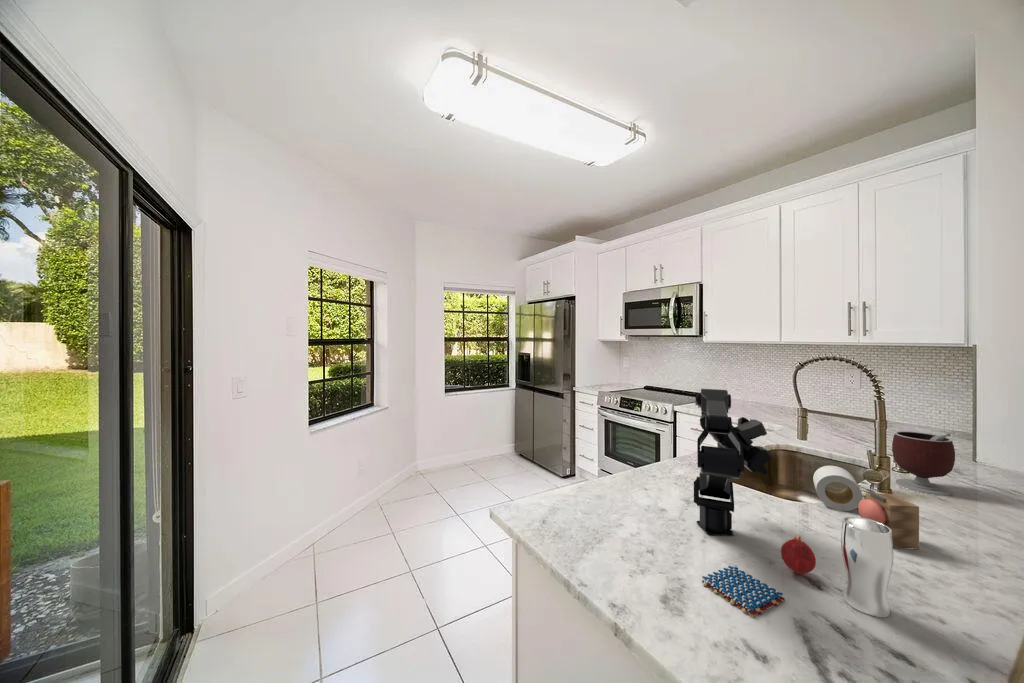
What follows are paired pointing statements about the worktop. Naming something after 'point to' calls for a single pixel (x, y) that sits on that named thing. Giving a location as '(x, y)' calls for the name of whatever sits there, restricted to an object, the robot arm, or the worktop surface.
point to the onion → (798, 556)
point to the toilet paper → (837, 499)
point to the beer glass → (867, 564)
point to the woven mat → (743, 590)
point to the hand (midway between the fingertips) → (766, 473)
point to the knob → (872, 510)
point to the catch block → (899, 519)
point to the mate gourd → (923, 459)
